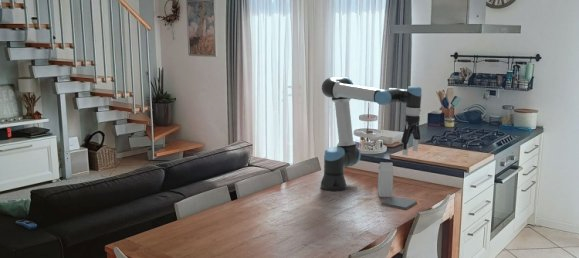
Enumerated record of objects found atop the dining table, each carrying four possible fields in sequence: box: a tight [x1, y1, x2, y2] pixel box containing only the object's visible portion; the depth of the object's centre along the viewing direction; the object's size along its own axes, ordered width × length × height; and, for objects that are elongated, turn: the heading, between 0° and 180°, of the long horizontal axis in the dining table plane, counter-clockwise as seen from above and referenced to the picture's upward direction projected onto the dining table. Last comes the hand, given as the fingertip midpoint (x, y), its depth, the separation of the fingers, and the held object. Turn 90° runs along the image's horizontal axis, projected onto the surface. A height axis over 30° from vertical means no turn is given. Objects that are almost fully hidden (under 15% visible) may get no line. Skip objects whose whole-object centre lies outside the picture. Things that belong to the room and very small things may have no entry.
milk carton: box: [377, 161, 394, 198], centre depth 293 cm, size 7×7×19 cm
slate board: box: [381, 195, 418, 211], centre depth 280 cm, size 14×14×1 cm
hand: (410, 153), depth 288 cm, fingers open, 13 cm apart
